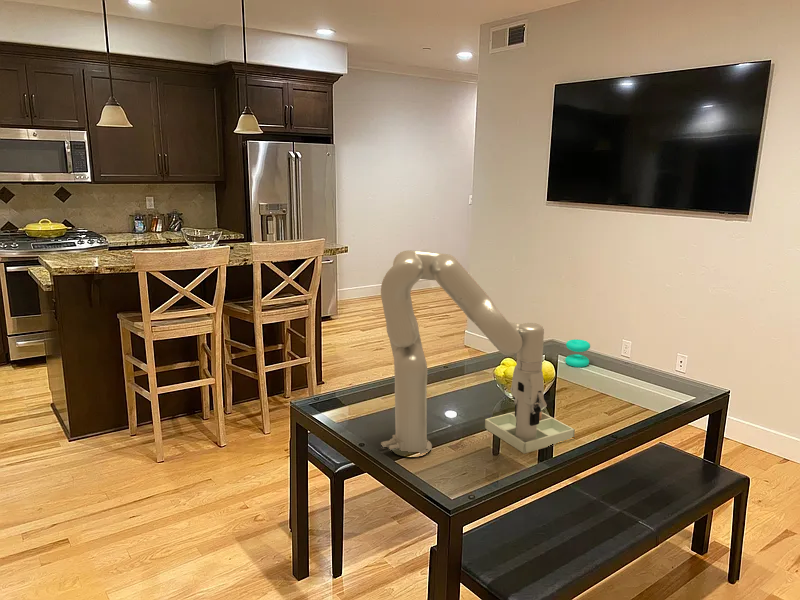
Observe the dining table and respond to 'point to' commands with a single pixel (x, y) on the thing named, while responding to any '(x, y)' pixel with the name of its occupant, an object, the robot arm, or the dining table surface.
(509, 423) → the carrier
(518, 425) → the travel mug
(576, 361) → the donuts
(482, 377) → the dining table surface
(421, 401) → the robot arm
